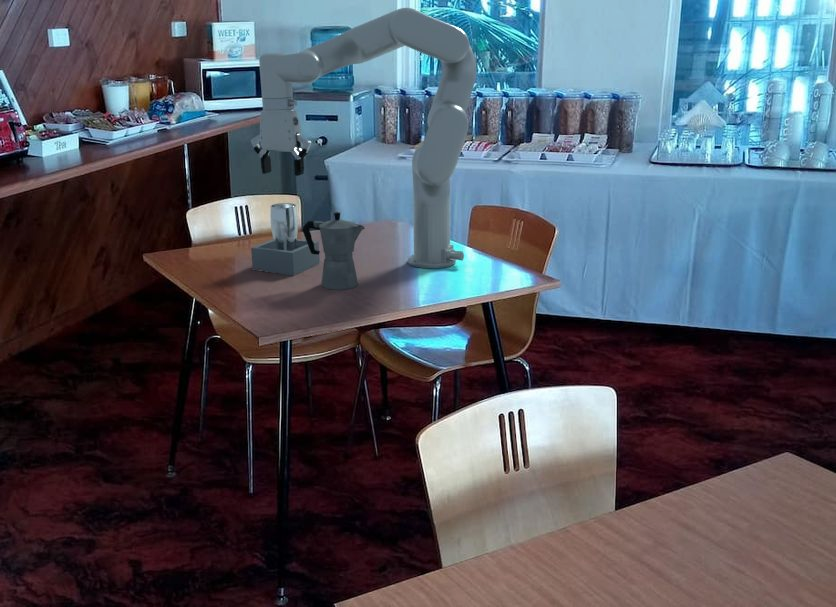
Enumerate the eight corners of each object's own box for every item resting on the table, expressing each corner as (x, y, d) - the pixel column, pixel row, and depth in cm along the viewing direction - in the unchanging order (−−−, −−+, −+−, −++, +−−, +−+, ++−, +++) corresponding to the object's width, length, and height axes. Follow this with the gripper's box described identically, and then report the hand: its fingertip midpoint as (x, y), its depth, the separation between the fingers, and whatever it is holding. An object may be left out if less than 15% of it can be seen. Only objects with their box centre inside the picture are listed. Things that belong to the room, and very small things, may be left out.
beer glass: (298, 265, 234) (294, 208, 230) (270, 265, 235) (267, 208, 230) (301, 258, 241) (298, 202, 237) (275, 258, 241) (272, 202, 237)
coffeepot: (370, 280, 226) (369, 209, 220) (360, 292, 217) (358, 217, 212) (311, 277, 229) (308, 206, 223) (298, 288, 220) (295, 215, 215)
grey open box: (319, 263, 241) (318, 241, 239) (294, 275, 230) (292, 252, 229) (279, 258, 246) (278, 237, 244) (252, 270, 235) (251, 247, 234)
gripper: (316, 103, 225) (320, 173, 231) (257, 102, 232) (262, 169, 238) (299, 107, 219) (304, 178, 224) (240, 105, 226) (245, 174, 231)
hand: (283, 173), depth 231 cm, fingers open, 9 cm apart
